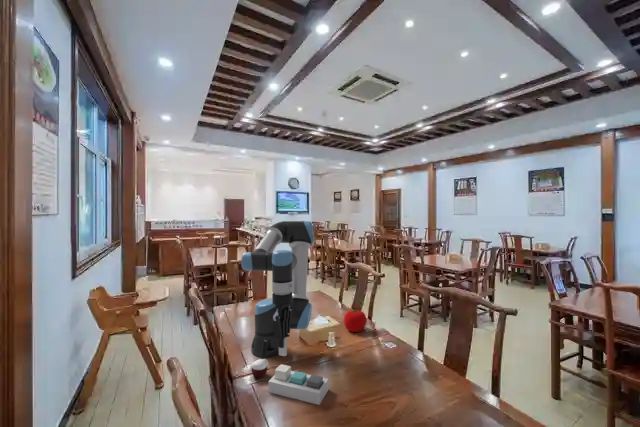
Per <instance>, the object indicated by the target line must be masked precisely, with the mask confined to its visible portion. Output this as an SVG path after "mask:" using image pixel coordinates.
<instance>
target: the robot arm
mask: <svg viewBox="0 0 640 427" xmlns="http://www.w3.org/2000/svg"><path fill="white" fill-rule="evenodd" d="M314 243H315V234H314V227H313V223H312V221H309V220H307V221H305V220H287V221H286V220H283V221H279V222H276V223H273V224H272V225H271V226H269V227H268V228H267V229H266V230H265V232H264V234H263V237H262V238H261V240H260V242H258V244H257V245H256V247H255V248H254V249H253V250H252V251H249V252H248V251H247V252H243V254H242V256H241V262H240V264H241V268H242V270H244V271H247V272H248V271H249V272H272V273H271V274H272V276H271V277H272V279H271V280H272V282H271V285H272V286H271V287H272V290H271V291H272V294H271V295H272V297H271V298H267V299H262V300H259V301H258V302H257V303H256V304H255V306H254V314H253V315H254V335H253V339H252V342H251V347H250V351H251V354H252V355H254V356H256V357H260V358H261V355H262V349H263V342H264V340H265V341H267V347H266V354H265V358H269V357H273V356H277V355H278V356H280V357H281V356H282V357H286V356H287V355H288V338H289V337H290V336H291V335H290V333H291V330H298V331H299V330H307V329H308V327H309V326H310V322H311V317H312V308H313V305H312V303H311V302H310V300H309V298H308V297H307V283H308V282H307V281H308V280H307V279H308V260H309V259H308V258H309V257H308V256H309V250H310V248H311V247H312V244H314ZM280 244H288V247H289V248H290V249H291V250H286V249H285V250H284V249H283V250H282V249H281V250H280V249H279V250H275V249H276V247H277V246H279V245H280Z"/></svg>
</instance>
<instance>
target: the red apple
mask: <svg viewBox="0 0 640 427" xmlns="http://www.w3.org/2000/svg"><path fill="white" fill-rule="evenodd" d="M343 324H344V326H345V328H346V329H347V330H348V331H349V332H352V333H359V332H362V331H363V330H364V328H365V327H366V325H367V316H366V313H365V312H364V311H362V310H357V309H352V310H348V311H347V312H346V313H345V315H344V318H343Z"/></svg>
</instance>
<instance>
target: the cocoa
mask: <svg viewBox="0 0 640 427" xmlns="http://www.w3.org/2000/svg"><path fill="white" fill-rule="evenodd" d="M266 347H267V341H265V340H264V342H263V349H262V355H261V357H260V359H259V358H258V359H257V360H255V361H252V363H251V365H250V367H251V373H252V375H253V377H254V378H257V379H260V378H263V377H264V376H266V374H267V372H268V365H269V361H268V359H266V357H265V354H266Z"/></svg>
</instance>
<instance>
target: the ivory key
mask: <svg viewBox="0 0 640 427" xmlns="http://www.w3.org/2000/svg"><path fill="white" fill-rule="evenodd" d="M291 371H292V366H290V365H286V364H280V365H278V366H277V367H276V369H274V375H275V379H276V380H280V381H284V382H286V381H287V380H288V379H289V378H290V377H291Z"/></svg>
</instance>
